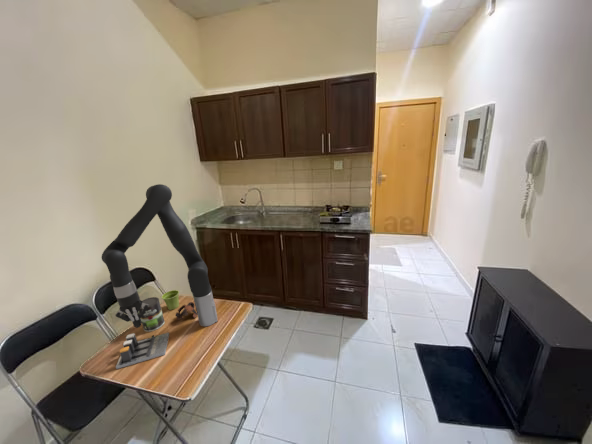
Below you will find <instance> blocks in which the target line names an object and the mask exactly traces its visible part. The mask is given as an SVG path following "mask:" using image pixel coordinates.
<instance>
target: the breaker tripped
mask: <svg viewBox="0 0 592 444" xmlns="http://www.w3.org/2000/svg"><path fill="white" fill-rule="evenodd" d="M119 355H120V356H121V358H122V360H123V362H125V361H128V360H131V358H132V354H131V351H130V348H129V346H128V347H124V346H123V347H121V348H120V350H119Z"/></svg>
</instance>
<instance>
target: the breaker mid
mask: <svg viewBox="0 0 592 444" xmlns="http://www.w3.org/2000/svg"><path fill="white" fill-rule="evenodd" d="M122 346H123V348H124V347H128V346H129V348H130V351H131V353H133V352H134V351H135V347H134V344H133V341H132V340H128V341H127V340H125V341H123V344H122Z"/></svg>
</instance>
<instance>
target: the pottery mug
mask: <svg viewBox="0 0 592 444" xmlns="http://www.w3.org/2000/svg"><path fill="white" fill-rule="evenodd" d="M188 312H190V313H191V312H192V313H193V315H192V317H193V318H194V319H196V318H197V317H198V315H197V311H196V309H195V302H194V301H190V302H188V303H187V305H186V304H184V305H182V306H179V307H178V310H177V312H176V313H175V317H176V319H177V320H184V317H183V316H188V315H189V313H188Z"/></svg>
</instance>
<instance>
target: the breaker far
mask: <svg viewBox="0 0 592 444" xmlns="http://www.w3.org/2000/svg"><path fill="white" fill-rule="evenodd" d="M125 339H126V340H125V341H128V340H132V341H133V344H134V346H136V345H137V343H138V342H137V341H138V340H137V337H136V333H129V334H127V335H126V337H125Z"/></svg>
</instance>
